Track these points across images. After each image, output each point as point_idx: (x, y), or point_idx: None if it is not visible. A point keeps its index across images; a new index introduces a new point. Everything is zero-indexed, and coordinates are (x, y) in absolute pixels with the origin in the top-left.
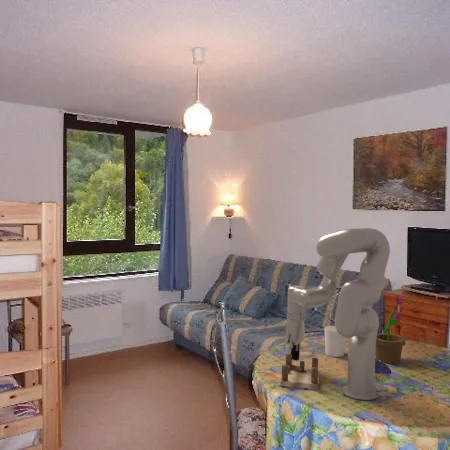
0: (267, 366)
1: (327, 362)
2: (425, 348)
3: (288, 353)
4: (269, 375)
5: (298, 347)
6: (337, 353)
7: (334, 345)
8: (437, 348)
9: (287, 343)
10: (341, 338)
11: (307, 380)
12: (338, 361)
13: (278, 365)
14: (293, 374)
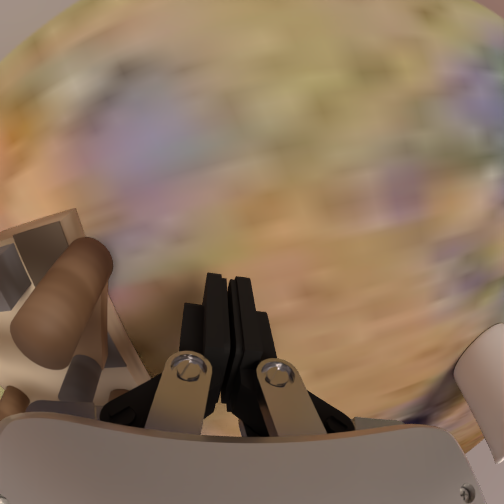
0: (184, 26)
1: (393, 370)
2: (469, 445)
3: (59, 336)
4: (4, 132)
5: (244, 432)
6: (459, 383)
7: (478, 402)
8: (464, 452)
9: (76, 423)
10: (485, 438)
11: (12, 374)
12: (406, 392)
13: (253, 108)
14: (17, 311)
